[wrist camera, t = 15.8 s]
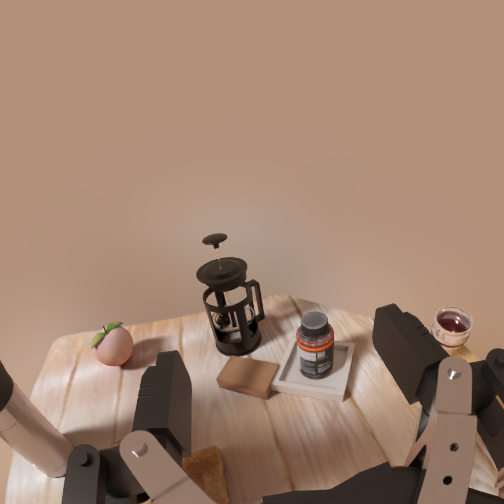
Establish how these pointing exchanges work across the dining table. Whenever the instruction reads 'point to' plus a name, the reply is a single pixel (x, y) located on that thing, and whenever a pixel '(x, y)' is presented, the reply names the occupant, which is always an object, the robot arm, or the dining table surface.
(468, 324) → the wineglass
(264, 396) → the brown block
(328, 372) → the supplement bottle
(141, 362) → the dining table surface
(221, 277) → the french press
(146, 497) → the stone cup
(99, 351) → the decorative fruit
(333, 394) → the tray
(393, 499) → the robot arm
